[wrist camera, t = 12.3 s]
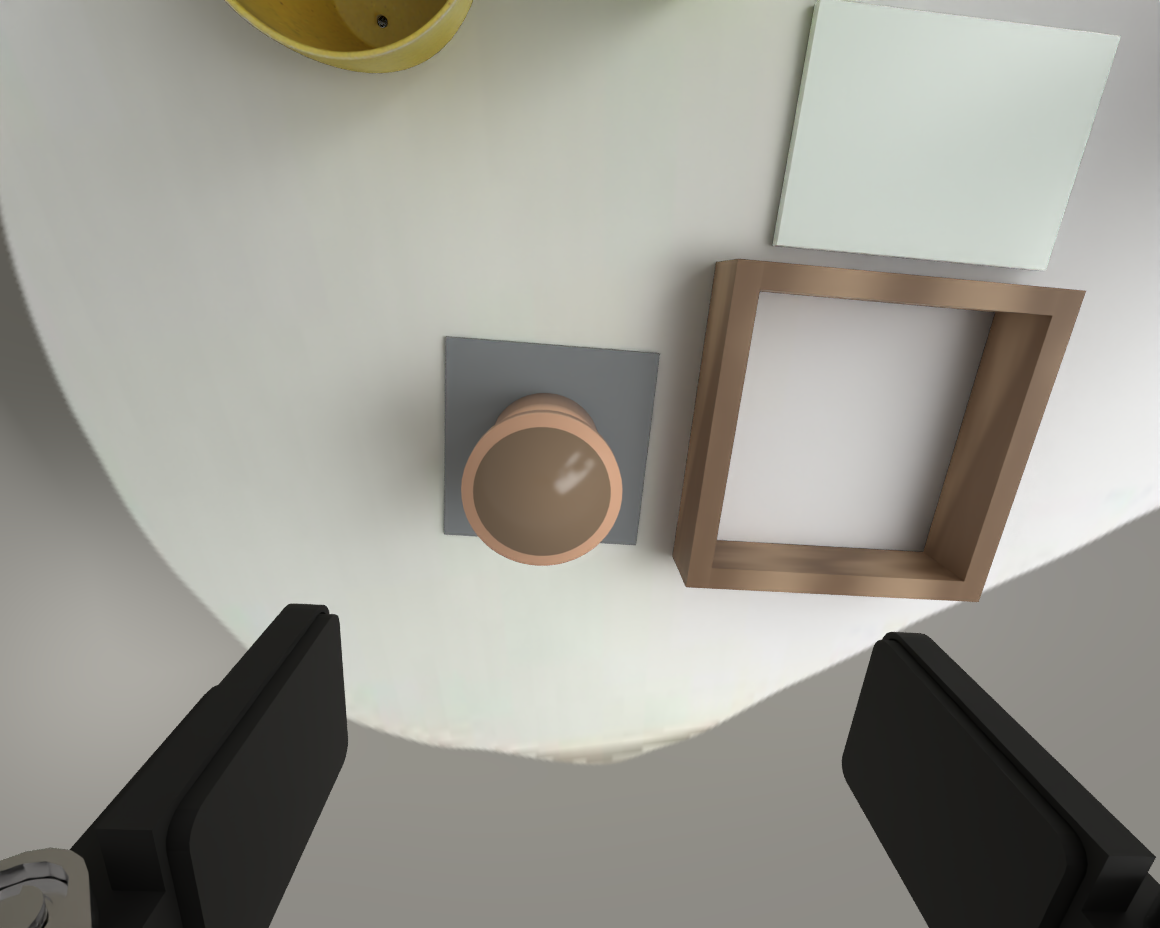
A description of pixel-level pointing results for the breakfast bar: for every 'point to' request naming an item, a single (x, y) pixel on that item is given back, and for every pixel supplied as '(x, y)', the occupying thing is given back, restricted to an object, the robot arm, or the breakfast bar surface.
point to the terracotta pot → (542, 482)
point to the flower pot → (358, 29)
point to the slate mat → (585, 375)
